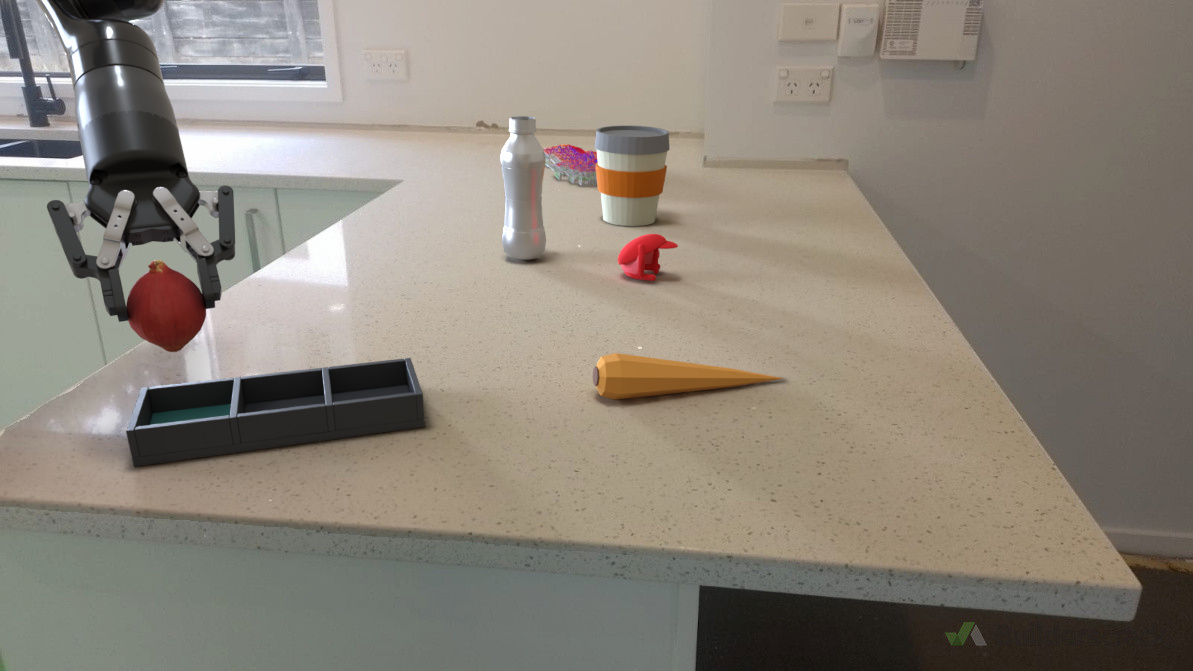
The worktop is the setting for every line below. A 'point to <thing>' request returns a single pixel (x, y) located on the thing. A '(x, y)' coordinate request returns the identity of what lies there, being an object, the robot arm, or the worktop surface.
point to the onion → (165, 307)
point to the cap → (643, 256)
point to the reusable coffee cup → (631, 172)
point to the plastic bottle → (523, 191)
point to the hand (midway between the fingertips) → (167, 310)
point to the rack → (273, 410)
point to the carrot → (663, 376)
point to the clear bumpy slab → (579, 163)
